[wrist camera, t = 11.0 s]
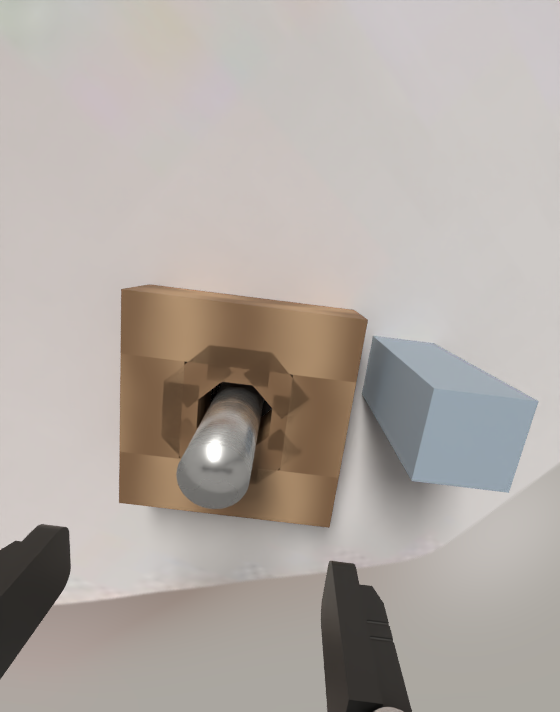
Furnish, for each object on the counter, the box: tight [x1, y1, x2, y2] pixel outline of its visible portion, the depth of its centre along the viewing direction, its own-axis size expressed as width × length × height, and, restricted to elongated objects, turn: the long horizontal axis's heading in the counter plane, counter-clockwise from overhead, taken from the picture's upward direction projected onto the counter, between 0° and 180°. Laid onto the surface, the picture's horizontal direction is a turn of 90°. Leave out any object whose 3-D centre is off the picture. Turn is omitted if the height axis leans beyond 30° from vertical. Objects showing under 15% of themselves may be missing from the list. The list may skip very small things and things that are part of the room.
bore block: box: [119, 285, 368, 527], centre depth 23 cm, size 13×13×4 cm
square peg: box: [362, 336, 538, 493], centre depth 19 cm, size 4×4×10 cm
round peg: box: [176, 382, 264, 509], centre depth 20 cm, size 3×3×10 cm
